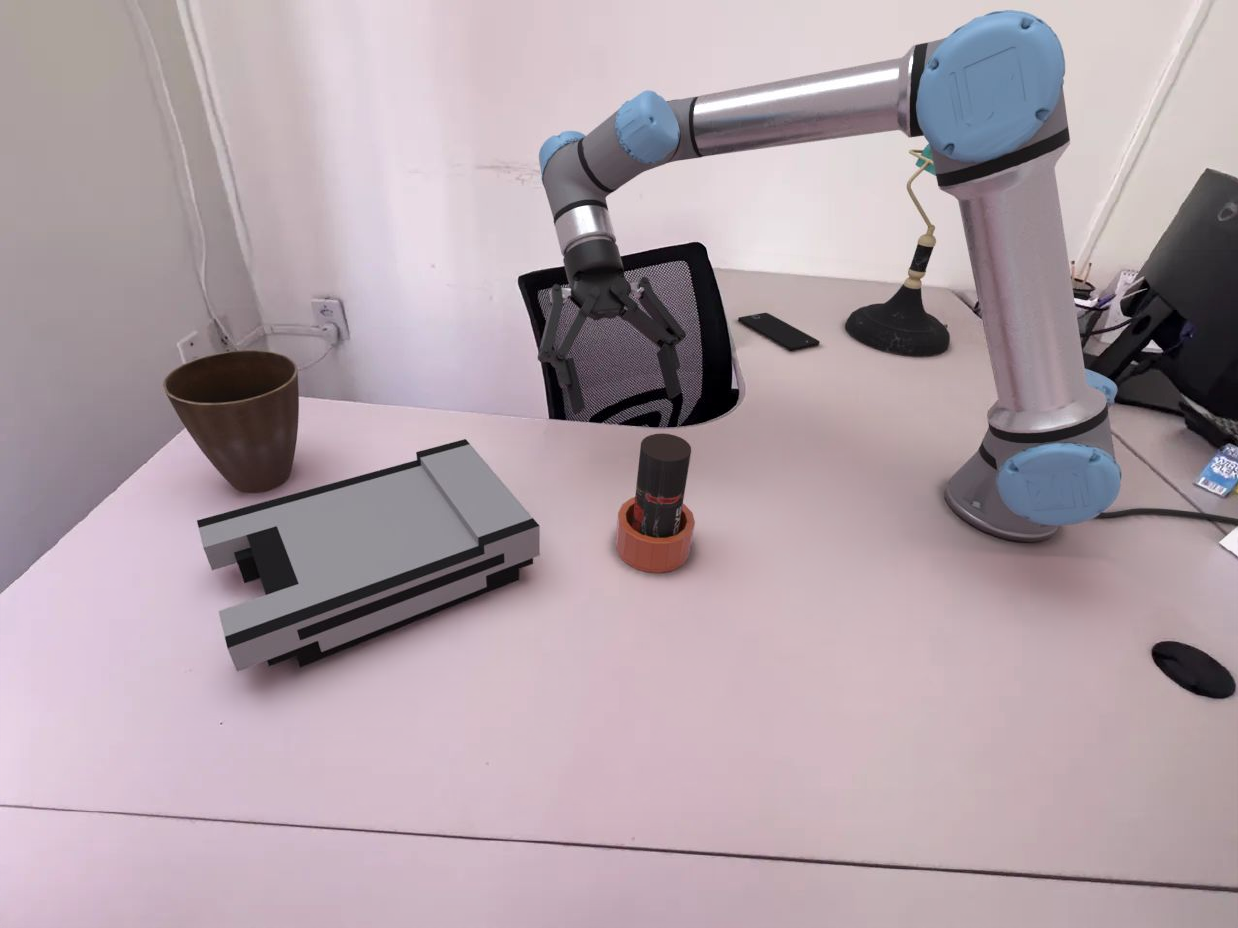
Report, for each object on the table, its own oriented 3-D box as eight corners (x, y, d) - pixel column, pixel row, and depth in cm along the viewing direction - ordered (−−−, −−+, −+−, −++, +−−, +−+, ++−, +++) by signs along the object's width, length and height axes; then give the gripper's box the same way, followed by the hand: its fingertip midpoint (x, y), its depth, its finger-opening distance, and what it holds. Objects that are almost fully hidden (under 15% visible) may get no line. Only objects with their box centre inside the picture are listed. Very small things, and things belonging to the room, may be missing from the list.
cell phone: (765, 315, 155) (766, 312, 154) (820, 345, 143) (821, 341, 142) (736, 321, 151) (737, 317, 150) (790, 352, 139) (791, 348, 138)
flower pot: (249, 440, 98) (220, 342, 89) (340, 457, 96) (320, 359, 87) (174, 498, 86) (132, 392, 77) (277, 519, 84) (246, 412, 75)
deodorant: (672, 562, 82) (688, 465, 73) (626, 554, 83) (636, 456, 74) (678, 533, 87) (693, 438, 78) (634, 524, 87) (645, 430, 79)
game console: (214, 566, 77) (193, 511, 72) (469, 487, 93) (465, 438, 88) (246, 695, 63) (223, 639, 58) (539, 577, 79) (539, 525, 74)
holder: (696, 533, 88) (701, 504, 85) (679, 581, 80) (684, 551, 77) (628, 516, 90) (631, 487, 87) (605, 560, 82) (608, 530, 79)
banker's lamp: (968, 364, 140) (1052, 163, 117) (863, 357, 140) (926, 153, 117) (923, 317, 162) (985, 140, 139) (831, 310, 161) (879, 131, 139)
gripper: (661, 258, 94) (699, 397, 92) (493, 271, 85) (529, 425, 83) (683, 231, 88) (725, 380, 85) (502, 241, 78) (542, 409, 76)
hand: (628, 403), depth 84 cm, fingers open, 13 cm apart
